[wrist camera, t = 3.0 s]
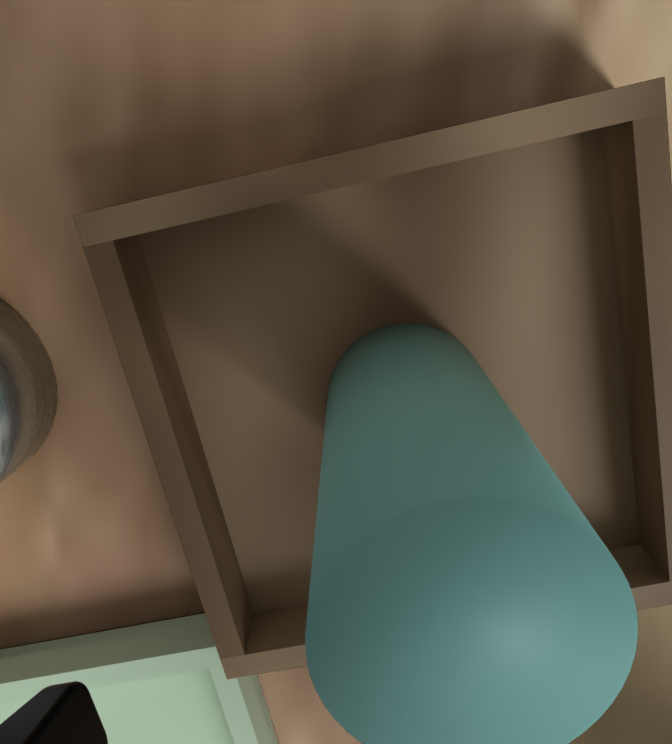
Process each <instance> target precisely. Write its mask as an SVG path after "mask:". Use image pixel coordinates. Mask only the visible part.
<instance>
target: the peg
mask: <svg viewBox="0 0 672 744" xmlns="http://www.w3.org/2000/svg"><path fill="white" fill-rule="evenodd" d="M637 639H638V617H637V611H636V606H635V600H634V597H633V594H632V591H631V589H630V586H629V583H628V581H627V579H626V577H625V575H624V573H623V572H622V570H621V568H620V566H619V564H618V563H617V562H616V560H615V559H614V557H613V556H612V554H611V553H610V552H609V550H608V549H607V547H606V546H605V544H604V543H603V542H602V540H601V539H600V537H599V536H598V534H597V533H596V531H595V530H594V529H593V527H592V526H591V524H590V523H589V521H588V520H587V519H586V517H585V516H584V514H583V513H582V511H581V510H580V509H579V507H578V506H577V504H576V503H575V501H574V500H573V499H572V497H571V496H570V494H569V493H568V491H567V490H566V488H565V487H564V486H563V484H562V483H561V481H560V480H559V478H558V477H557V476H556V474H555V473H554V471H553V470H552V468H551V467H550V466H549V464H548V463H547V461H546V460H545V458H544V457H543V456H542V454H541V453H540V451H539V450H538V448H537V447H536V445H535V444H534V443H533V441H532V440H531V438H530V437H529V435H528V434H527V433H526V431H525V430H524V428H523V427H522V425H521V424H520V423H519V421H518V420H517V418H516V417H515V415H514V414H513V413H512V411H511V410H510V408H509V407H508V405H507V404H506V402H505V401H504V400H503V398H502V397H501V395H500V394H499V392H498V391H497V390H496V388H495V387H494V385H493V384H492V382H491V381H490V380H489V378H488V377H487V375H486V374H485V372H484V371H483V370H482V368H481V367H480V365H479V364H478V362H477V361H476V359H475V358H474V357H473V355H472V354H471V353H470V351H469V350H468V349H467V348H466V347H465V346H464V345H463V344H462V343H461V342H460V341H459V340H457V339H456V338H455V337H453V336H452V335H450V334H449V333H447V332H445V331H443V330H441V329H438V328H436V327H433V326H429V325H425V324H418V323H398V324H392V325H388V326H384V327H381V328H378V329H376V330H373V331H371V332H369V333H368V334H366V335H364V336H362V337H361V338H360V339H358V340H357V341H356V342H354V343H353V344H352V345H351V346H350V347H349V348H348V349H347V350H346V351H345V353H344V354H343V355H342V357H341V358H340V359H339V361H338V363H337V365H336V366H335V368H334V371H333V373H332V376H331V379H330V383H329V388H328V397H327V408H326V419H325V429H324V440H323V451H322V461H321V472H320V483H319V493H318V504H317V515H316V525H315V536H314V547H313V558H312V568H311V579H310V590H309V600H308V611H307V622H306V632H305V649H306V659H307V664H308V669H309V673H310V676H311V679H312V681H313V684H314V687H315V689H316V691H317V693H318V695H319V697H320V698H321V700H322V702H323V704H324V705H325V707H326V708H327V709H328V711H329V712H330V713H331V715H332V716H333V717H334V719H335V720H336V721H337V722H338V723H339V724H340V725H341V726H342V727H343V728H344V729H345V730H346V731H347V732H348V733H350V734H351V735H352V736H354V737H355V738H356V739H357V740H359V741H360V742H361V743H363V744H568V743H570V742H571V741H573V740H574V739H575V738H577V737H578V736H580V735H581V734H582V733H584V732H585V731H586V730H587V729H588V728H590V727H591V726H592V725H593V724H594V723H595V722H596V721H597V720H598V719H599V718H600V717H601V716H602V715H603V714H604V713H605V711H606V710H607V709H608V708H609V707H610V706H611V704H612V703H613V701H614V700H615V698H616V697H617V695H618V694H619V692H620V691H621V689H622V688H623V685H624V683H625V681H626V679H627V677H628V675H629V673H630V670H631V667H632V663H633V660H634V657H635V653H636V646H637Z"/></svg>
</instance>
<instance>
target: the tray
mask: <svg viewBox="0 0 672 744" xmlns="http://www.w3.org/2000/svg"><path fill="white" fill-rule="evenodd" d="M73 681H78V682H82V683H83V684H84V685H85V686H86V687H87V688H88V690H89V692H90V695H91V697H92V700H93V702H94V705H95V707H96V709H97V712H98V714H99V717H100V719H101V722H102V724H103V727H104V729H105V731H106V735H107V740H108V744H278V741H277V738H276V734H275V731H274V728H273V725H272V722H271V718H270V715H269V712H268V709H267V706H266V703H265V699H264V696H263V693H262V690H261V687H260V684H259V680H258V677H257V674H256V675H250V676H244V677H239V678H233V679H227V678H226V675H225V672H224V669H223V666H222V663H221V660H220V657H219V654H218V651H217V648H216V645H215V642H214V639H213V636H212V633H211V630H210V627H209V624H208V621H207V618H206V615H205V613H203V614H197V615H192V616H186V617H180V618H175V619H169V620H164V621H158V622H152V623H147V624H141V625H136V626H130V627H124V628H119V629H113V630H108V631H102V632H96V633H91V634H85V635H80V636H74V637H68V638H63V639H57V640H52V641H46V642H40V643H35V644H29V645H24V646H18V647H13V648H7V649H1V650H0V724H1V723H2V722H4V721H5V720H6V719H7V718H8V717H10V716H11V715H12V714H13V713H14V712H16V711H17V710H18V709H19V708H20V707H22V706H23V705H24V704H25V703H26V702H28V701H29V700H30V699H31V698H32V697H34V696H35V695H36V694H37V693H38V692H40V691H41V690H42V689H44V688H46V687H48V686H51V685H56V684H62V683H68V682H73Z"/></svg>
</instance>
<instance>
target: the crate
mask: <svg viewBox="0 0 672 744" xmlns="http://www.w3.org/2000/svg"><path fill="white" fill-rule="evenodd" d="M73 218H74V221H75V224H76V227H77V230H78V233H79V236H80V239H81V242H82V245H83V248H84V251H85V254H86V257H87V260H88V263H89V266H90V269H91V272H92V275H93V278H94V281H95V284H96V287H97V290H98V293H99V296H100V299H101V302H102V305H103V308H104V311H105V314H106V317H107V320H108V323H109V326H110V329H111V332H112V335H113V338H114V341H115V344H116V347H117V350H118V353H119V356H120V359H121V362H122V366H123V369H124V372H125V375H126V378H127V381H128V384H129V387H130V390H131V393H132V396H133V399H134V402H135V405H136V408H137V411H138V414H139V417H140V420H141V423H142V426H143V429H144V432H145V435H146V438H147V441H148V444H149V447H150V450H151V453H152V456H153V459H154V462H155V465H156V468H157V471H158V474H159V477H160V480H161V483H162V486H163V489H164V492H165V495H166V498H167V501H168V504H169V507H170V510H171V513H172V516H173V519H174V522H175V525H176V528H177V531H178V534H179V537H180V540H181V543H182V546H183V549H184V552H185V555H186V558H187V561H188V564H189V567H190V570H191V573H192V576H193V579H194V582H195V585H196V588H197V591H198V594H199V597H200V600H201V603H202V606H203V609H204V612H205V615H206V618H207V621H208V624H209V627H210V630H211V633H212V636H213V639H214V642H215V645H216V648H217V651H218V654H219V657H220V660H221V663H222V666H223V669H224V672H225V675H226V678H227V679H233V678H239V677H244V676H250V675H256V674H262V673H268V672H274V671H280V670H286V669H292V668H298V667H304V666H308V664H307V659H306V649H305V632H306V622H307V611H308V600H309V590H310V579H311V568H312V558H313V547H314V536H315V525H316V515H317V504H318V493H319V483H320V472H321V461H322V451H323V440H324V429H325V419H326V408H327V397H328V388H329V383H330V379H331V376H332V373H333V371H334V368H335V366H336V365H337V363H338V361H339V359H340V358H341V357H342V355H343V354H344V353H345V351H346V350H347V349H348V348H349V347H350V346H351V345H352V344H353V343H354V342H356V341H357V340H358V339H360V338H361V337H362V336H364V335H366V334H368V333H369V332H371V331H373V330H376V329H378V328H381V327H384V326H388V325H392V324H398V323H418V324H425V325H429V326H433V327H436V328H438V329H441V330H443V331H445V332H447V333H449V334H450V335H452V336H453V337H455V338H456V339H457V340H459V341H460V342H461V343H462V344H463V345H464V346H465V347H466V348H467V349H468V350H469V351H470V353H471V354H472V355H473V357H474V358H475V359H476V361H477V362H478V364H479V365H480V367H481V368H482V370H483V371H484V372H485V374H486V375H487V377H488V378H489V380H490V381H491V382H492V384H493V385H494V387H495V388H496V390H497V391H498V392H499V394H500V395H501V397H502V398H503V400H504V401H505V402H506V404H507V405H508V407H509V408H510V410H511V411H512V413H513V414H514V415H515V417H516V418H517V420H518V421H519V423H520V424H521V425H522V427H523V428H524V430H525V431H526V433H527V434H528V435H529V437H530V438H531V440H532V441H533V443H534V444H535V445H536V447H537V448H538V450H539V451H540V453H541V454H542V456H543V457H544V458H545V460H546V461H547V463H548V464H549V466H550V467H551V468H552V470H553V471H554V473H555V474H556V476H557V477H558V478H559V480H560V481H561V483H562V484H563V486H564V487H565V488H566V490H567V491H568V493H569V494H570V496H571V497H572V499H573V500H574V501H575V503H576V504H577V506H578V507H579V509H580V510H581V511H582V513H583V514H584V516H585V517H586V519H587V520H588V521H589V523H590V524H591V526H592V527H593V529H594V530H595V531H596V533H597V534H598V536H599V537H600V539H601V540H602V542H603V543H604V544H605V546H606V547H607V549H608V550H609V552H610V553H611V554H612V556H613V557H614V559H615V560H616V562H617V563H618V564H619V566H620V568H621V570H622V572H623V573H624V575H625V577H626V579H627V581H628V583H629V586H630V589H631V591H632V594H633V597H634V600H635V606H636V610H640V609H646V608H652V607H658V606H664V605H669V604H672V184H671V168H670V153H669V138H668V123H667V108H666V93H665V77H661V78H657V79H652V80H648V81H644V82H640V83H635V84H631V85H627V86H623V87H618V88H614V89H610V90H606V91H601V92H597V93H593V94H589V95H584V96H580V97H576V98H572V99H567V100H563V101H559V102H554V103H550V104H546V105H542V106H537V107H533V108H529V109H525V110H520V111H516V112H512V113H508V114H503V115H499V116H495V117H491V118H486V119H482V120H478V121H474V122H469V123H465V124H461V125H457V126H452V127H448V128H444V129H440V130H435V131H431V132H427V133H423V134H418V135H414V136H410V137H406V138H401V139H397V140H393V141H389V142H384V143H380V144H376V145H372V146H367V147H363V148H359V149H355V150H350V151H346V152H342V153H338V154H333V155H329V156H325V157H321V158H316V159H312V160H308V161H304V162H299V163H295V164H291V165H287V166H282V167H278V168H274V169H270V170H265V171H261V172H257V173H252V174H248V175H244V176H240V177H235V178H231V179H227V180H223V181H218V182H214V183H210V184H206V185H201V186H197V187H193V188H189V189H184V190H180V191H176V192H172V193H167V194H163V195H159V196H155V197H150V198H146V199H142V200H138V201H133V202H129V203H125V204H121V205H116V206H112V207H108V208H104V209H99V210H95V211H91V212H87V213H82V214H78V215H74V216H73Z"/></svg>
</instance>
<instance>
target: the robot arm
mask: <svg viewBox="0 0 672 744" xmlns="http://www.w3.org/2000/svg"><path fill="white" fill-rule="evenodd" d="M0 744H108V740H107V735H106V731H105V729H104V727H103V724H102V722H101V719H100V717H99V714H98V712H97V709H96V707H95V705H94V702H93V700H92V697H91V695H90V692H89V690H88V688H87V687H86V686H85V685H84V684H83V683H82V682H78V681H73V682H68V683H62V684H56V685H51V686H48V687H46V688H44V689H42V690H41V691H40V692H38V693H37V694H36V695H35V696H34V697H32V698H31V699H30V700H29V701H28V702H26V703H25V704H24V705H23V706H22V707H20V708H19V709H18V710H17V711H16V712H14V713H13V714H12V715H11V716H10V717H8V718H7V719H6V720H5V721H4V722H2V723H1V724H0Z"/></svg>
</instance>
